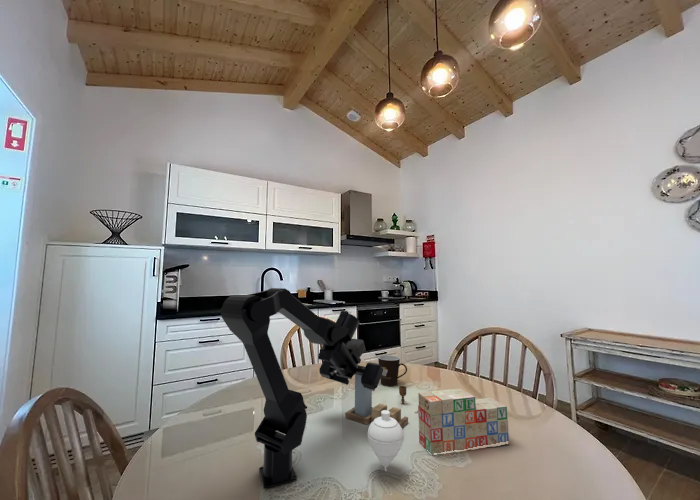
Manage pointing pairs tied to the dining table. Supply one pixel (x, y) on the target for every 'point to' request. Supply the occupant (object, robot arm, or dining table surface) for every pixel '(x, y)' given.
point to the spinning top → (385, 438)
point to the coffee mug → (390, 370)
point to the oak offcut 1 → (377, 411)
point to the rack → (368, 418)
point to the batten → (362, 398)
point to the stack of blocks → (459, 421)
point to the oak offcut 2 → (395, 413)
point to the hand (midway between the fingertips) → (360, 386)
